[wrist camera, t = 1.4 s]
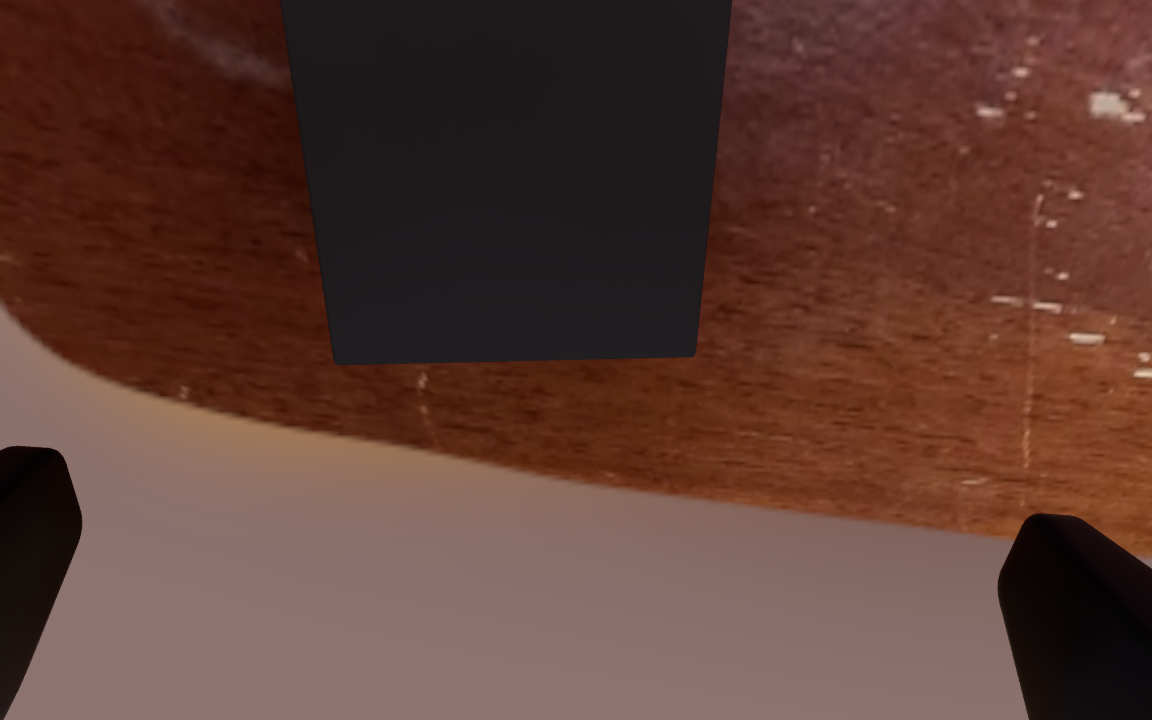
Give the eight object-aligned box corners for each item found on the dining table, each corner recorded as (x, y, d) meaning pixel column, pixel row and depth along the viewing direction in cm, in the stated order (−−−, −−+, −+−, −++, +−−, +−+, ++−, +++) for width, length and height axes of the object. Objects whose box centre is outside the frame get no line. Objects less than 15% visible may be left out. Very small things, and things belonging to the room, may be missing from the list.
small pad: (356, 289, 19) (333, 367, 16) (312, -58, 15) (274, -28, 13) (670, 283, 19) (696, 358, 17) (698, -54, 16) (736, -25, 13)
